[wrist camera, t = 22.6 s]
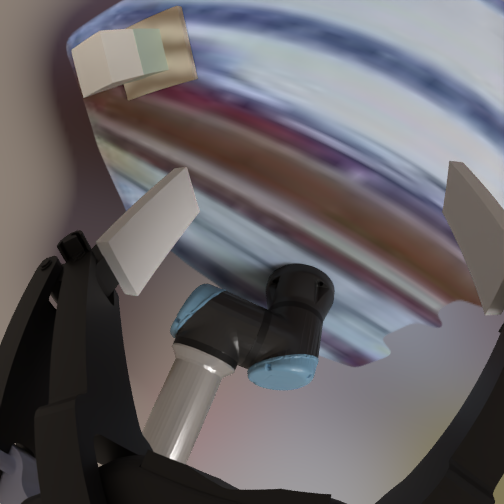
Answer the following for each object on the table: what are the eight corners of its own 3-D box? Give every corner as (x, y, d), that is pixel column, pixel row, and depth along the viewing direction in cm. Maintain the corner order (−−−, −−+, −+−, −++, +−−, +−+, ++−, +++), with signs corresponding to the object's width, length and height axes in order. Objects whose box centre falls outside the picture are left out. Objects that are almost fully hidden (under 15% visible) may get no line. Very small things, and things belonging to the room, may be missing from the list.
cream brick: (143, 74, 32) (112, 82, 27) (114, 87, 34) (83, 97, 29) (132, 29, 27) (99, 30, 22) (103, 44, 29) (71, 50, 24)
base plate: (197, 78, 39) (193, 79, 38) (132, 98, 43) (128, 100, 42) (181, 6, 31) (176, 5, 30) (117, 35, 35) (111, 36, 34)
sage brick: (168, 69, 37) (144, 74, 32) (140, 79, 39) (114, 86, 34) (159, 28, 33) (133, 28, 27) (131, 41, 34) (104, 43, 29)
